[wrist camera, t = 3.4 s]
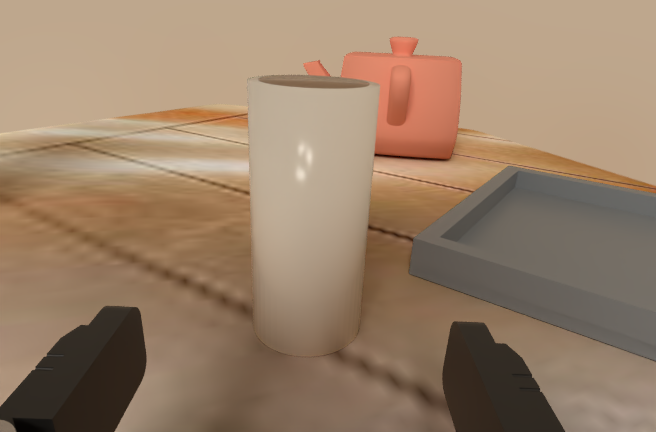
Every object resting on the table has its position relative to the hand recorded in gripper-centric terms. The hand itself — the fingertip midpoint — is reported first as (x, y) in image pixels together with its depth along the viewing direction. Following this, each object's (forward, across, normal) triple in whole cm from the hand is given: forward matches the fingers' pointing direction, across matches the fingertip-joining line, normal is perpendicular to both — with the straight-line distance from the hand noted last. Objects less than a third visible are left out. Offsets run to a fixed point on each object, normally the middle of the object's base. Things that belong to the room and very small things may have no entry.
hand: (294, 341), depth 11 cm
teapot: (+50, -7, +7) cm, 51 cm away
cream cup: (+10, 0, +6) cm, 12 cm away
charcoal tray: (+18, -22, +6) cm, 29 cm away
